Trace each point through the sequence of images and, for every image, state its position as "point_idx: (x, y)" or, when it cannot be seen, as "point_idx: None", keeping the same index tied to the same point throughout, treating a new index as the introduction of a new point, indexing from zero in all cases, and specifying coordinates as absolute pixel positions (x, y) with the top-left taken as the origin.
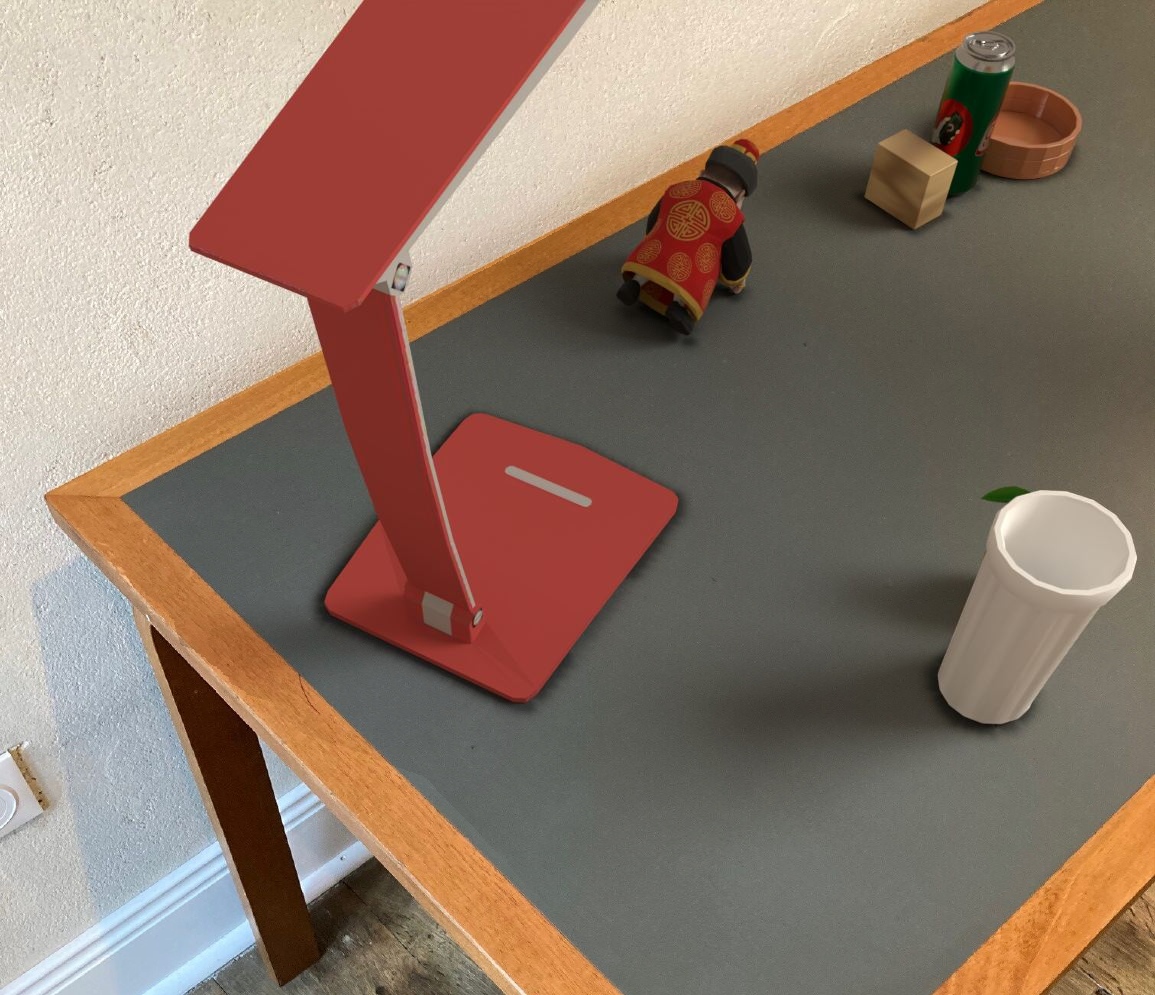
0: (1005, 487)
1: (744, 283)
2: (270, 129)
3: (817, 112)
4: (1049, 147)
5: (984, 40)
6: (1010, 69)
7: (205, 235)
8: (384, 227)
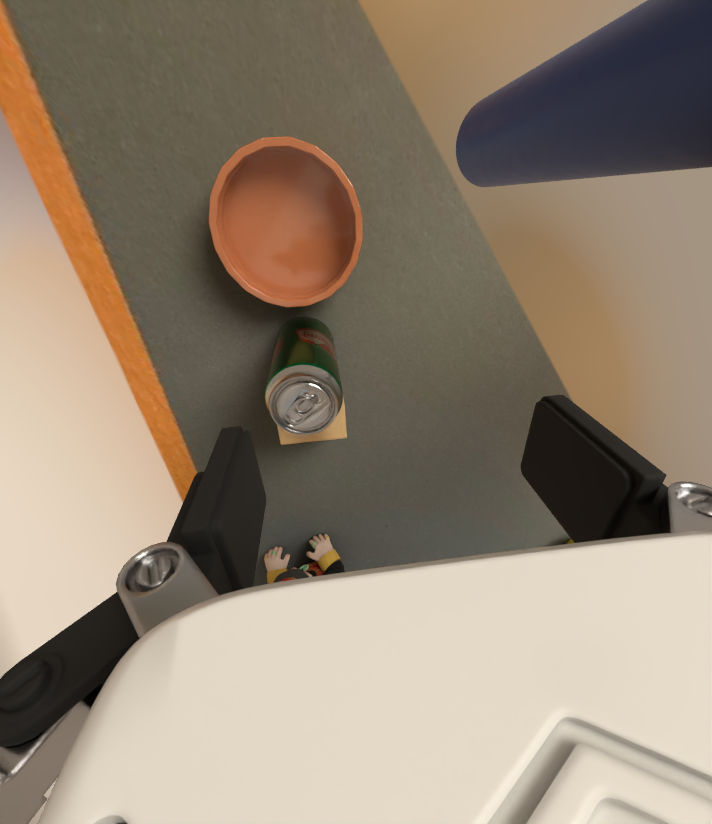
0: None
1: (328, 538)
2: None
3: (139, 369)
4: (357, 259)
5: (293, 406)
6: (342, 393)
7: None
8: None
